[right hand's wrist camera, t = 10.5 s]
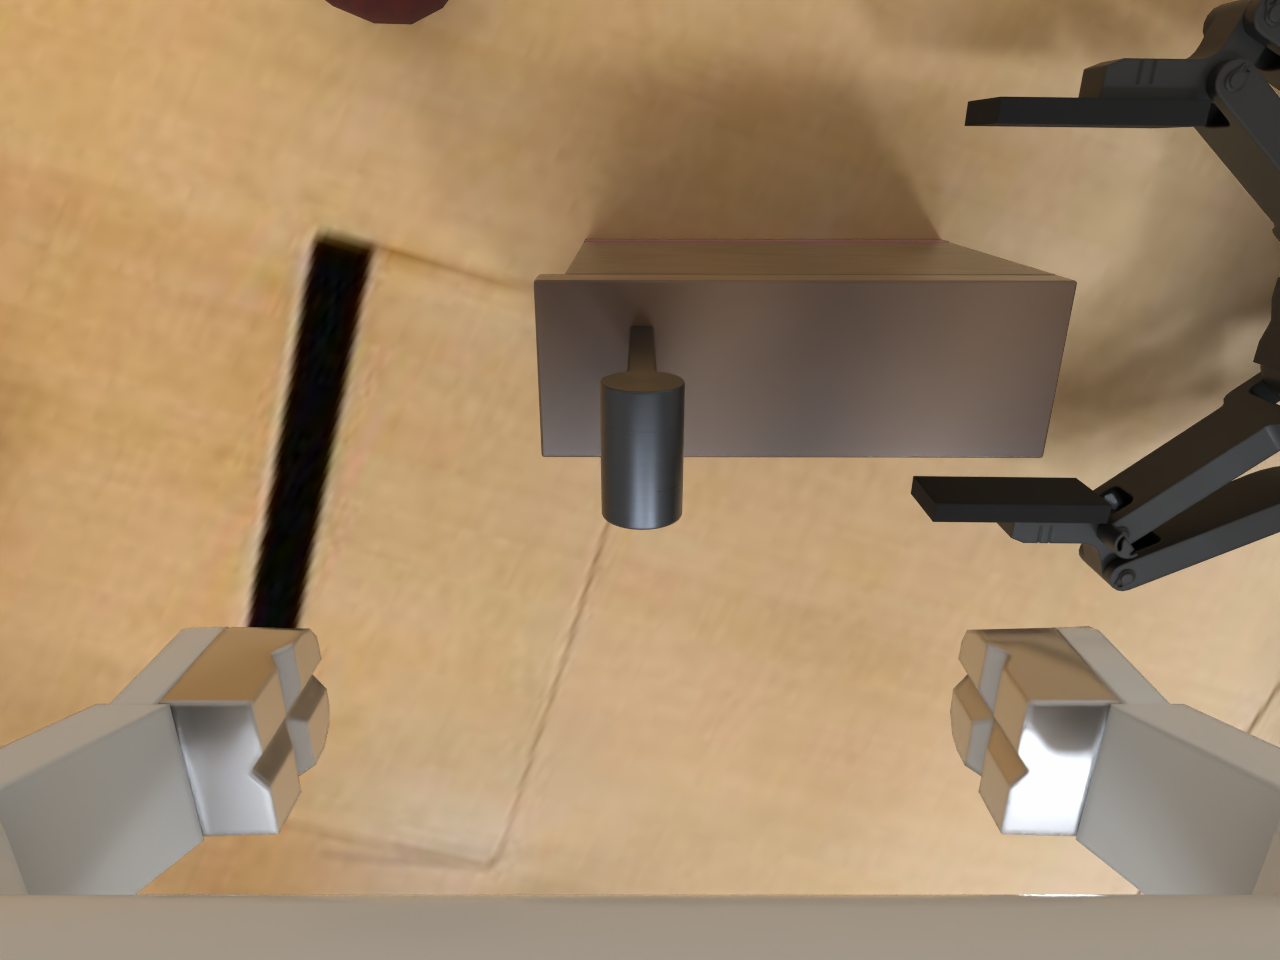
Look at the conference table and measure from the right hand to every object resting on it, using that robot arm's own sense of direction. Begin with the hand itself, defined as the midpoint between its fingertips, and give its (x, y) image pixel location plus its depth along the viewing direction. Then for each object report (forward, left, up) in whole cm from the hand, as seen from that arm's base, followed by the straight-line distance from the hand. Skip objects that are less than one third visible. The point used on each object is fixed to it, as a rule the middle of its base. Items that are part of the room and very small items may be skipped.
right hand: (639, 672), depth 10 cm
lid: (+5, -1, -16) cm, 17 cm away
